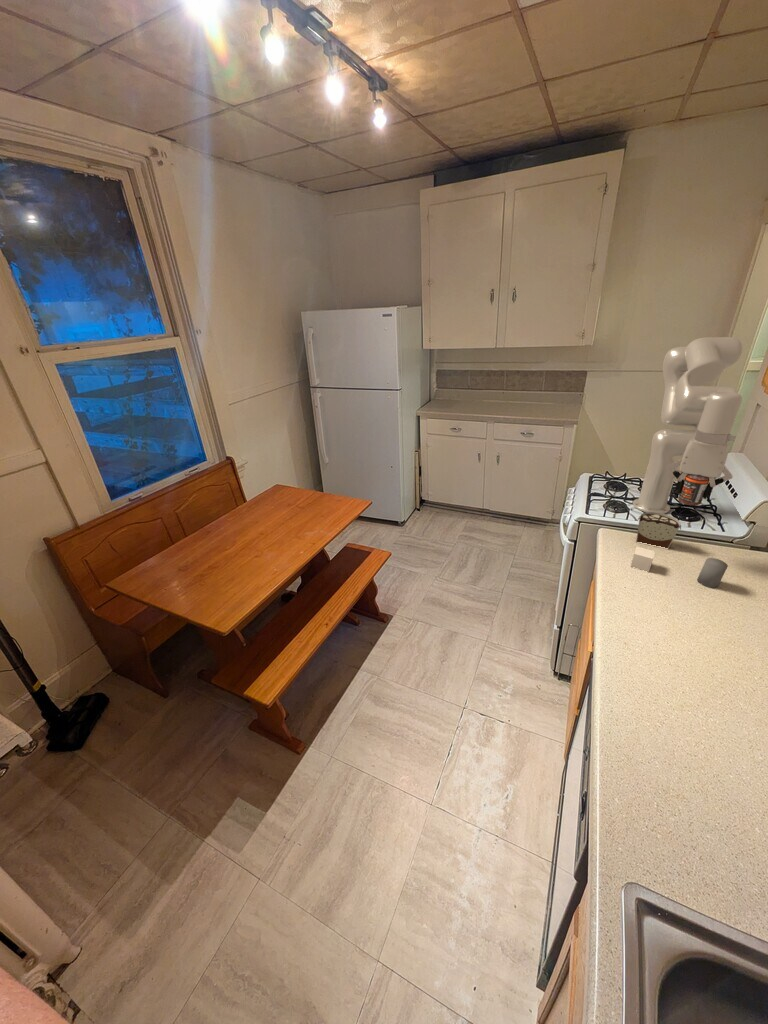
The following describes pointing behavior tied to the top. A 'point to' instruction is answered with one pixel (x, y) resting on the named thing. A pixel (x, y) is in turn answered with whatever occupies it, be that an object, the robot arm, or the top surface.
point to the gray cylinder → (712, 572)
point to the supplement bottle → (693, 489)
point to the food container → (657, 529)
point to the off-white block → (642, 559)
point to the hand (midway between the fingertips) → (691, 494)
